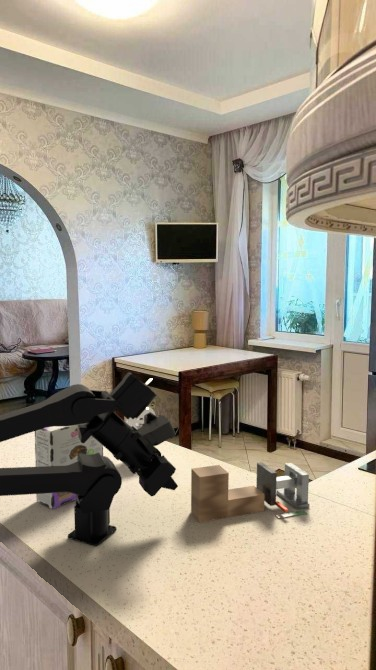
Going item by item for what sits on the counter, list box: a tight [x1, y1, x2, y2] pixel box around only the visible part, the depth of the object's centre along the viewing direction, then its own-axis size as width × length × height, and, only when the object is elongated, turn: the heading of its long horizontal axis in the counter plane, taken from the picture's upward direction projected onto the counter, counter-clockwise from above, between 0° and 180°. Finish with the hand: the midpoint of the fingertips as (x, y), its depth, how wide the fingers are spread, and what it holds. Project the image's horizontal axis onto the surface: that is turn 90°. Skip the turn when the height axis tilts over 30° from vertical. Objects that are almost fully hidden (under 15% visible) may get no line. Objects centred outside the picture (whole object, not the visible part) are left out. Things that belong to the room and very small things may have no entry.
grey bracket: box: [255, 461, 297, 514], centre depth 103 cm, size 8×10×7 cm
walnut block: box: [190, 464, 265, 523], centre depth 100 cm, size 14×4×9 cm, turn 110°
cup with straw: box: [125, 378, 156, 430], centre depth 129 cm, size 8×9×20 cm
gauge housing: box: [275, 462, 310, 520], centre depth 103 cm, size 8×10×7 cm
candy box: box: [34, 424, 104, 510], centre depth 107 cm, size 14×6×16 cm, turn 141°
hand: (175, 487), depth 96 cm, fingers closed
